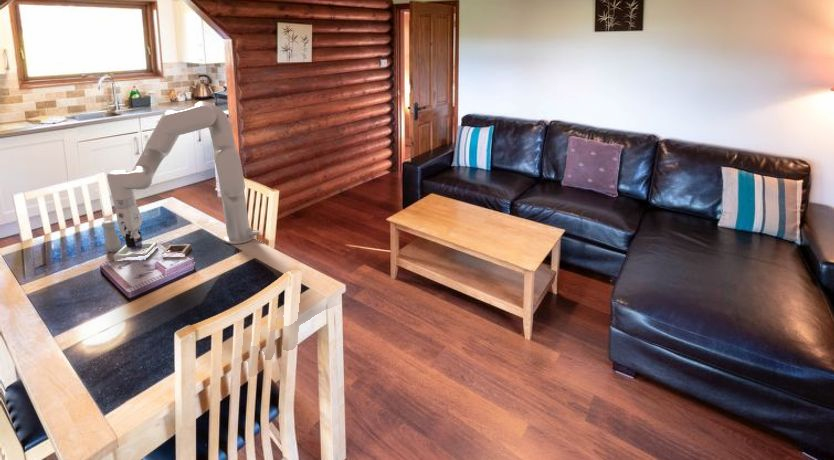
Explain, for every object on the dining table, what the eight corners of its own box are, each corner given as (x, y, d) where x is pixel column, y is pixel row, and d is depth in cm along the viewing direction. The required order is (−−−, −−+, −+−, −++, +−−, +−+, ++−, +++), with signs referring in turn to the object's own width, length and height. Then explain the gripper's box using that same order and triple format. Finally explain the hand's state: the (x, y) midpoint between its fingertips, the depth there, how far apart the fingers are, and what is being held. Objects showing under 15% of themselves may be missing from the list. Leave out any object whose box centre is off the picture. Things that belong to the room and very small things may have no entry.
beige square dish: (191, 248, 206) (190, 244, 205) (184, 257, 198) (183, 252, 197) (170, 249, 205) (169, 244, 205) (162, 257, 197) (161, 253, 197)
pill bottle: (133, 253, 196) (129, 233, 193) (125, 250, 199) (121, 230, 195) (145, 249, 201) (142, 229, 197) (137, 246, 203) (134, 226, 200)
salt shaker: (117, 246, 208) (110, 218, 203) (125, 249, 205) (118, 220, 200) (104, 251, 203) (96, 222, 198) (112, 254, 200) (104, 225, 195)
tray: (158, 247, 206) (156, 242, 205) (146, 260, 195) (144, 254, 194) (128, 249, 205) (127, 243, 204) (114, 261, 194) (113, 255, 193)
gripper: (124, 208, 184) (135, 252, 191) (143, 194, 200) (153, 235, 207) (103, 209, 183) (115, 253, 190) (124, 195, 199) (134, 236, 206)
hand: (134, 243), depth 199 cm, fingers closed on pill bottle, 5 cm apart
